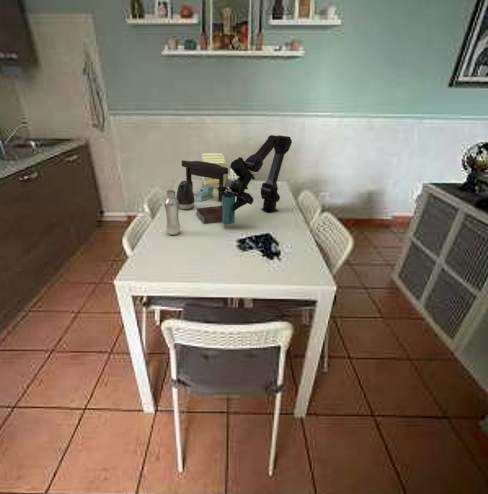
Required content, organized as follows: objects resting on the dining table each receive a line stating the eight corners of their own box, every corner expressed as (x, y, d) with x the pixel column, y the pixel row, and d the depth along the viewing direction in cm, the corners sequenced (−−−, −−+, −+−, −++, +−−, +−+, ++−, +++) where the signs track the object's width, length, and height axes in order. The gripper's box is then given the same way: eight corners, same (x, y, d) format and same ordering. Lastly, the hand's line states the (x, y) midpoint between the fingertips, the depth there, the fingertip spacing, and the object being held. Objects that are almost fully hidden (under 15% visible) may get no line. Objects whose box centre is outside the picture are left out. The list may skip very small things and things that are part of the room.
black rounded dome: (172, 209, 178) (170, 182, 171) (182, 203, 187) (180, 177, 179) (189, 212, 175) (188, 184, 168) (198, 206, 183) (197, 179, 176)
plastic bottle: (183, 231, 153) (181, 190, 143) (176, 237, 147) (173, 194, 137) (171, 229, 154) (167, 188, 145) (164, 235, 149) (160, 192, 139)
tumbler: (226, 218, 160) (226, 193, 154) (236, 221, 157) (237, 195, 151) (219, 222, 156) (219, 196, 149) (230, 225, 153) (231, 198, 147)
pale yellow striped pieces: (229, 190, 210) (230, 162, 201) (205, 191, 208) (204, 163, 199) (224, 178, 236) (224, 153, 227) (202, 178, 234) (201, 153, 225)
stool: (220, 169, 172) (172, 161, 188) (220, 207, 182) (174, 196, 198) (235, 164, 184) (189, 156, 199) (234, 199, 194) (190, 190, 209)
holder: (221, 211, 177) (221, 205, 176) (231, 220, 165) (231, 214, 164) (196, 214, 173) (195, 208, 171) (203, 224, 161) (203, 218, 159)
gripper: (220, 168, 153) (203, 196, 152) (250, 176, 142) (233, 206, 140) (231, 181, 162) (215, 208, 160) (260, 189, 151) (244, 218, 149)
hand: (226, 209), depth 152 cm, fingers closed on tumbler, 6 cm apart
